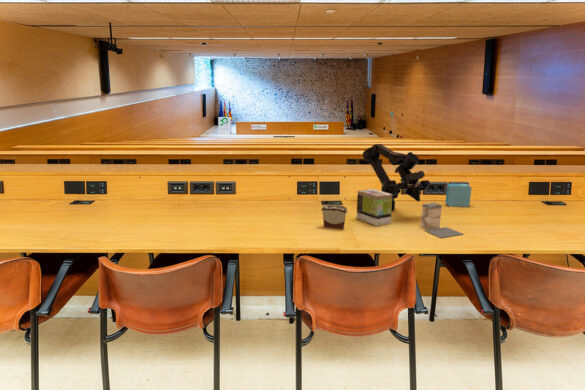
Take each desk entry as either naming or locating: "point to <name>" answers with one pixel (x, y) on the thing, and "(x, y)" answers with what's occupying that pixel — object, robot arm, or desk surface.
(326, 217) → the food container
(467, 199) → the teal square slab
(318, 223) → the desk surface
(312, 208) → the desk surface
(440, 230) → the mat
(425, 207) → the cream block
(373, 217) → the tea box
